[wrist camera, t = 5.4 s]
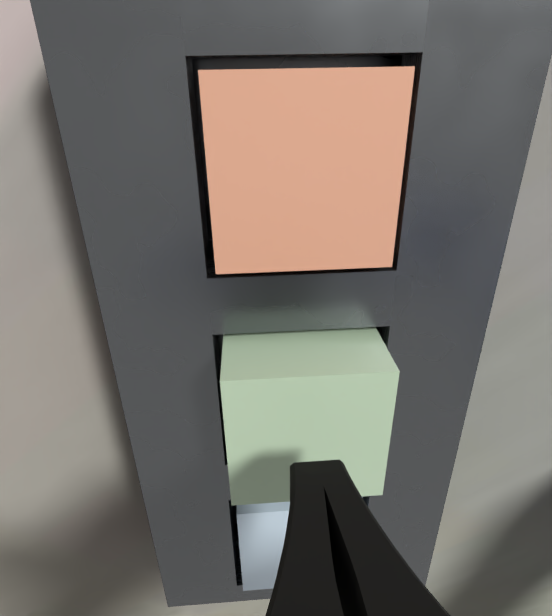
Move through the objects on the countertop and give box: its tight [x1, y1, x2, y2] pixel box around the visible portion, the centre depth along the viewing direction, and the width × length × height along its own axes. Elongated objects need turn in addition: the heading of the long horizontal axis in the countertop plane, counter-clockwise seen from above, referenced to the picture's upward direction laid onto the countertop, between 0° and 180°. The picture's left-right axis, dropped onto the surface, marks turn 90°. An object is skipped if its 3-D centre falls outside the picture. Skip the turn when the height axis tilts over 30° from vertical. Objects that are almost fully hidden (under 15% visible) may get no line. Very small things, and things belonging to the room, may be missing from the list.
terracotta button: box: [198, 66, 415, 274], centre depth 12 cm, size 5×5×3 cm
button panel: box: [30, 0, 552, 607], centre depth 16 cm, size 12×23×3 cm, turn 1°
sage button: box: [220, 327, 400, 506], centre depth 15 cm, size 5×5×3 cm
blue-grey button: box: [237, 497, 363, 591], centre depth 19 cm, size 5×5×3 cm
